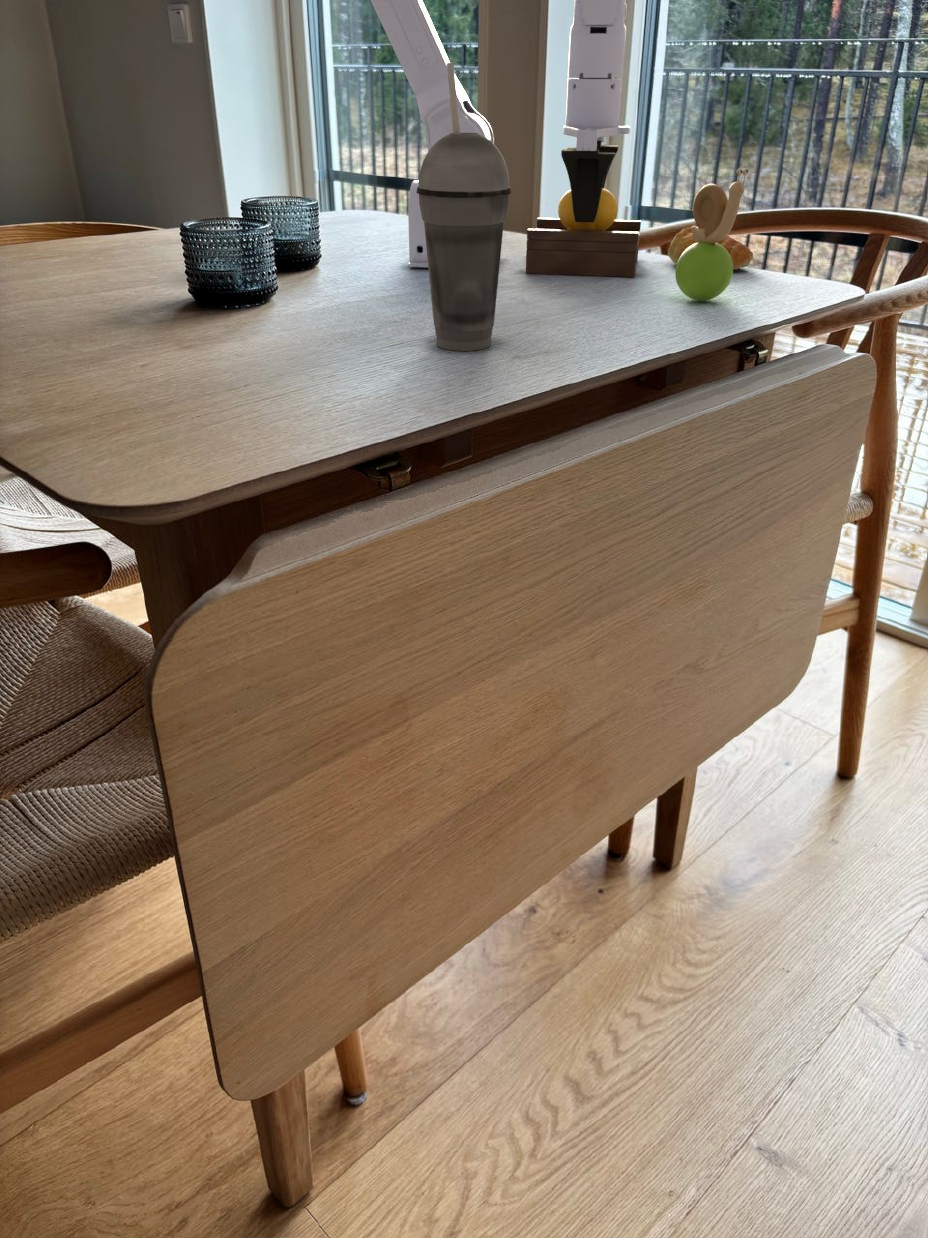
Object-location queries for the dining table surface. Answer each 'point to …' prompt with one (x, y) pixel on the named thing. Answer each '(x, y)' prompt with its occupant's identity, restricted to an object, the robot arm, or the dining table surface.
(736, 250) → the pastry
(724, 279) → the snail figurine
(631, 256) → the brown blocks
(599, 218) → the yellow oval piece
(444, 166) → the beverage cup
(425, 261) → the robot arm
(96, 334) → the dining table surface
